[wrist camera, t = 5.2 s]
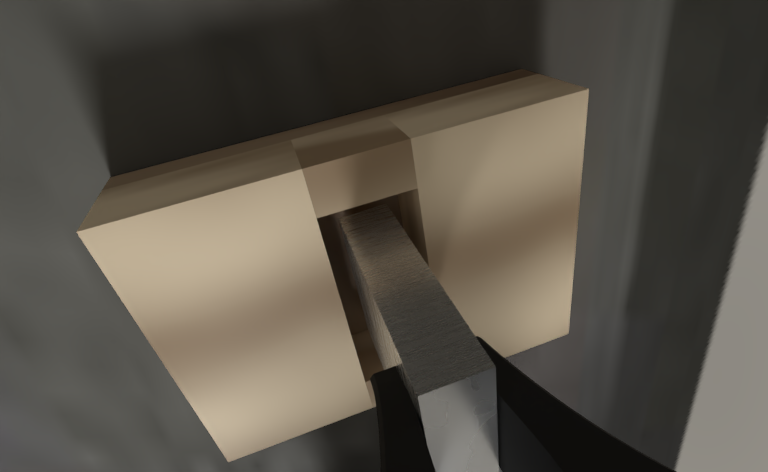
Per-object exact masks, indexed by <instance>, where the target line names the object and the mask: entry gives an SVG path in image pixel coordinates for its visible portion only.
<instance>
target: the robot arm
mask: <svg viewBox="0 0 768 472" xmlns="http://www.w3.org/2000/svg"><path fill="white" fill-rule="evenodd" d="M476 338H477V340H478V341H479V342H480V344H481V345H482V347H483V348H484V350H485V351H486V353H487V354H488V356H489V357H490V359H491V360H492V362H493V363H494V365H495V366H496V391H497V425H498V460H499V466H500V468H501V470H502V471H503V472H676V471H674V470H672V469H670V468H668V467H666V466H664V465H663V464H661V463H659V462H657V461H655V460H654V459H652V458H650V457H648V456H646V455H645V454H643V453H641V452H639V451H638V450H636V449H634V448H632V447H631V446H629V445H627V444H626V443H624V442H622V441H621V440H619V439H617V438H616V437H614V436H612V435H611V434H609V433H608V432H606V431H604V430H603V429H601V428H600V427H598V426H597V425H595V424H593V423H592V422H590V421H589V420H587V419H586V418H584V417H583V416H581V415H580V414H578V413H577V412H575V411H574V410H572V409H571V408H570V407H568V406H567V405H565V404H564V403H562V402H561V401H560V400H558V399H557V398H555V397H554V396H553V395H551V394H550V393H549V392H547V391H546V390H545V389H543V388H542V387H541V386H539V385H538V384H537V383H535V382H534V381H533V380H531V379H530V378H529V377H527V376H526V375H525V374H524V373H522V372H521V371H520V370H519V369H517V368H516V367H515V366H514V365H512V364H511V363H510V362H509V361H508V360H506V359H505V358H504V357H503V356H502V355H500V354H499V353H498V352H497V351H496V350H494V349H493V348H492V347H491V346H490V345H489V344H488V343H486V342H485V341H484V340H483V339H482V338H480V337H478V336H476ZM370 381H371V384H372V388H373V391H374V396H375V401H376V407H377V415H378V424H379V438H380V457H381V472H436V471H435V468H434V465H433V462H432V459H431V456H430V453H429V450H428V446H427V443H426V440H425V437H424V434H423V431H422V428H421V425H420V422H419V419H418V416H417V413H416V410H415V407H414V404H413V402H412V400H411V397H410V395H409V393H408V391H407V389H406V387H405V385H404V383H403V381H402V378H401V376H400V374H399V372H398V370H397V368H396V366H393V367H391V368H388V369H385V370H382V371H380V372H377V373H374V374H373V375H372V376H371V378H370Z"/></svg>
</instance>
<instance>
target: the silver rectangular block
mask: <svg viewBox="0 0 768 472" xmlns="http://www.w3.org/2000/svg"><path fill="white" fill-rule="evenodd" d="M339 222H340V226H341V230H342V234H343V237H344V241H345V245H346V249H347V252H348V256H349V260H350V264H351V268H352V271H353V275H354V279H355V283H356V286H357V290H358V294H359V298H360V301H361V305H362V309H363V313H364V317H365V320H366V324H367V328H368V331H369V333H370V336H371V338H372V341H373V343H374V346H375V349H376V351H377V354H378V356H379V359H380V361H381V364H382V366H383V369H384V370H385V369H388V368H391V367H393V366H396V368H397V370H398V372H399V374H400V376H401V378H402V381H403V383H404V385H405V387H406V389H407V391H408V393H409V395H410V397H411V400H412V402H413V404H414V407H415V410H416V413H417V416H418V419H419V422H420V425H421V428H422V431H423V434H424V437H425V440H426V443H427V446H428V450H429V453H430V456H431V459H432V462H433V465H434V468H435V471H436V472H499V460H498V425H497V391H496V366H495V365H494V363H493V362H492V360H491V359H490V357H489V356H488V354H487V353H486V351H485V350H484V348H483V347H482V345H481V344H480V342H479V341H478V340H477V338H476V337H475V335H474V334H473V332H472V331H471V329H470V328H469V326H468V325H467V323H466V322H465V320H464V319H463V317H462V316H461V314H460V313H459V311H458V310H457V308H456V307H455V305H454V304H453V302H452V301H451V299H450V298H449V296H448V295H447V293H446V292H445V290H444V289H443V287H442V286H441V284H440V283H439V281H438V280H437V278H436V277H435V276H434V274H433V273H432V271H431V270H430V268H429V267H428V265H427V264H426V262H425V261H424V259H423V258H422V256H421V255H420V253H419V252H418V250H417V249H416V247H415V246H414V244H413V243H412V241H411V240H410V238H409V237H408V235H407V234H406V232H405V231H404V229H403V228H402V226H401V225H400V223H399V222H398V220H397V219H396V217H395V216H394V214H393V213H392V212H391V210H390V209H389V207H388V206H387V204H384V205H380V206H377V207H374V208H370V209H367V210H364V211H361V212H357V213H354V214H351V215H347V216H344V217H341V218H339Z"/></svg>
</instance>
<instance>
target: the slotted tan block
mask: <svg viewBox="0 0 768 472" xmlns="http://www.w3.org/2000/svg"><path fill="white" fill-rule="evenodd" d="M588 95H589V89H588V88H584V87H581V86H578V85H574V84H571V83H568V82H564V81H561V80H558V79H554V78H551V77H548V76H544V75H541V74H538V73H534V72H531V71H528V70H524V69H519V70H516V71H512V72H508V73H504V74H500V75H497V76H493V77H489V78H485V79H481V80H478V81H474V82H470V83H466V84H462V85H459V86H455V87H451V88H447V89H444V90H440V91H436V92H432V93H428V94H425V95H421V96H417V97H413V98H409V99H406V100H402V101H398V102H394V103H390V104H387V105H383V106H379V107H375V108H371V109H368V110H364V111H360V112H356V113H352V114H349V115H345V116H341V117H337V118H334V119H330V120H326V121H322V122H318V123H315V124H311V125H307V126H303V127H299V128H296V129H292V130H288V131H284V132H280V133H277V134H273V135H269V136H265V137H261V138H258V139H254V140H250V141H246V142H242V143H239V144H235V145H231V146H227V147H224V148H220V149H216V150H212V151H208V152H205V153H201V154H197V155H193V156H189V157H186V158H182V159H178V160H174V161H170V162H167V163H163V164H159V165H155V166H151V167H148V168H144V169H140V170H136V171H132V172H129V173H125V174H121V175H117V176H113V177H110V179H109V180H108V182H107V183H106V185H105V187H104V188H103V190H102V192H101V193H100V195H99V196H98V198H97V200H96V201H95V203H94V204H93V206H92V208H91V209H90V211H89V213H88V214H87V216H86V217H85V219H84V221H83V222H82V224H81V225H80V227H79V229H78V230H77V234H78V235H79V237H80V238H81V240H82V241H83V243H84V244H85V246H86V247H87V249H88V250H89V252H90V253H91V255H92V256H93V258H94V259H95V261H96V262H97V264H98V265H99V267H100V268H101V270H102V271H103V273H104V275H105V276H106V278H107V279H108V281H109V282H110V284H111V285H112V287H113V288H114V290H115V291H116V293H117V294H118V296H119V297H120V299H121V300H122V302H123V303H124V305H125V306H126V308H127V309H128V311H129V312H130V314H131V315H132V317H133V318H134V320H135V321H136V323H137V324H138V326H139V327H140V329H141V330H142V332H143V334H144V335H145V337H146V338H147V340H148V341H149V343H150V344H151V346H152V347H153V349H154V350H155V352H156V353H157V355H158V356H159V358H160V359H161V361H162V362H163V364H164V365H165V367H166V368H167V370H168V371H169V373H170V374H171V376H172V377H173V379H174V380H175V382H176V383H177V385H178V386H179V388H180V390H181V391H182V393H183V394H184V396H185V397H186V399H187V400H188V402H189V403H190V405H191V406H192V408H193V409H194V411H195V412H196V414H197V415H198V417H199V418H200V420H201V421H202V423H203V424H204V426H205V427H206V429H207V430H208V432H209V433H210V435H211V436H212V438H213V439H214V441H215V442H216V444H217V445H218V447H219V449H220V450H221V452H222V453H223V455H224V456H225V458H226V459H227V461H228V462H230V461H233V460H236V459H238V458H241V457H244V456H246V455H249V454H251V453H254V452H257V451H259V450H262V449H265V448H267V447H270V446H273V445H275V444H278V443H281V442H283V441H286V440H289V439H291V438H294V437H296V436H299V435H302V434H304V433H307V432H310V431H312V430H315V429H318V428H320V427H323V426H326V425H328V424H331V423H334V422H336V421H339V420H341V419H344V418H347V417H349V416H352V415H355V414H357V413H360V412H363V411H365V410H368V409H371V408H373V407H376V401H375V396H374V391H373V388H372V384H371V381H370V378H371V376H372V375H373V374H374V373H377V372H380V371H382V370H384V369H383V366H382V364H381V361H380V359H379V356H378V354H377V351H376V349H375V346H374V343H373V341H372V338H371V336H370V333H369V331H368V328H367V324H366V320H365V317H364V313H363V309H362V305H361V301H360V298H359V294H358V290H357V286H356V283H355V279H354V275H353V271H352V268H351V264H350V260H349V256H348V252H347V249H346V245H345V241H344V237H343V234H342V230H341V226H340V222H339V218H341V217H344V216H347V215H351V214H354V213H357V212H361V211H364V210H367V209H370V208H374V207H377V206H380V205H384V204H387V206H388V207H389V209H390V210H391V212H392V213H393V214H394V216H395V217H396V219H397V220H398V222H399V223H400V225H401V226H402V228H403V229H404V231H405V232H406V234H407V235H408V237H409V238H410V240H411V241H412V243H413V244H414V246H415V247H416V249H417V250H418V252H419V253H420V255H421V256H422V258H423V259H424V261H425V262H426V264H427V265H428V267H429V268H430V270H431V271H432V273H433V274H434V276H435V277H436V278H437V280H438V281H439V283H440V284H441V286H442V287H443V289H444V290H445V292H446V293H447V295H448V296H449V298H450V299H451V301H452V302H453V304H454V305H455V307H456V308H457V310H458V311H459V313H460V314H461V316H462V317H463V319H464V320H465V322H466V323H467V325H468V326H469V328H470V329H471V331H472V332H473V334H474V335H475V337H476V336H478V337H480V338H482V339H483V340H484V341H485V342H486V343H488V344H489V345H490V346H491V347H492V348H493V349H494V350H496V351H497V352H498V353H499V354H500V355H502V356H503V357H504V358H506V357H508V356H511V355H513V354H516V353H519V352H521V351H524V350H527V349H529V348H532V347H535V346H537V345H540V344H543V343H545V342H548V341H551V340H553V339H556V338H558V337H561V336H564V335H566V334H568V333H569V321H570V309H571V297H572V285H573V274H574V262H575V250H576V238H577V226H578V214H579V202H580V190H581V178H582V166H583V155H584V143H585V131H586V119H587V107H588Z"/></svg>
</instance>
